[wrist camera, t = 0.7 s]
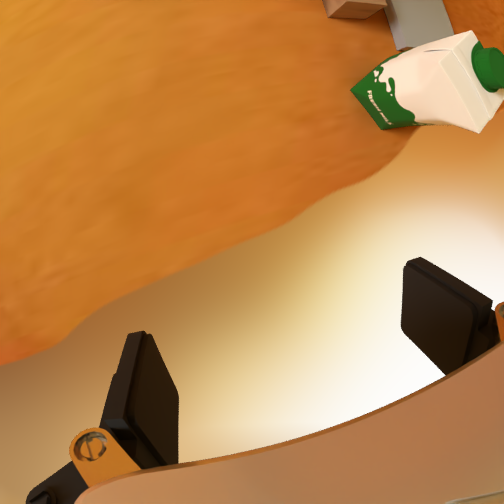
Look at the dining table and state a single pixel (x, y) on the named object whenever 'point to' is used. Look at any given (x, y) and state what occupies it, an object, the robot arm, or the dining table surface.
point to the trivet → (417, 22)
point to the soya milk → (436, 85)
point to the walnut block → (352, 8)
